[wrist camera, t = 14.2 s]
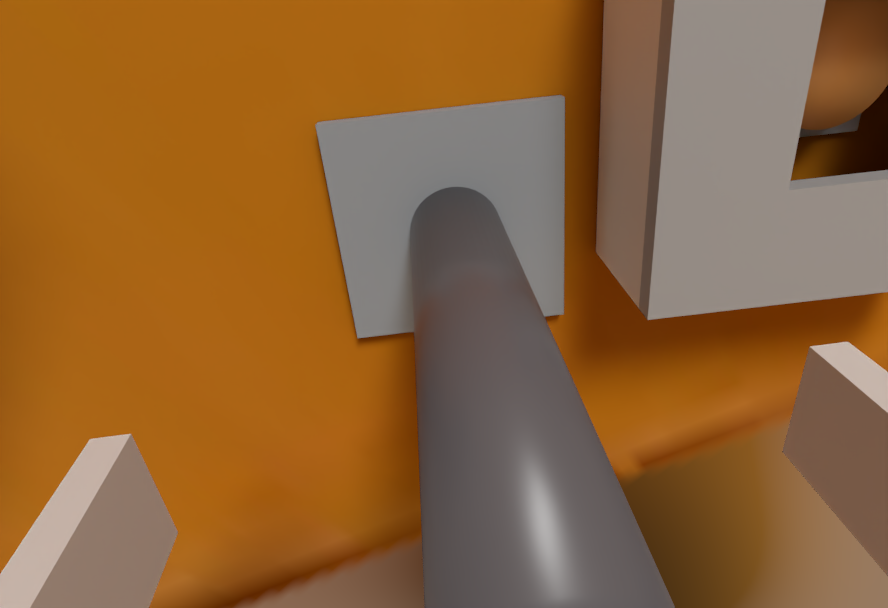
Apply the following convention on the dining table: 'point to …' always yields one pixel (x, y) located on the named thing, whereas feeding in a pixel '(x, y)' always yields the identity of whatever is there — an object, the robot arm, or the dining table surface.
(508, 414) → the stylus
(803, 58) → the box
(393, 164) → the pad
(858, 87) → the button
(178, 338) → the dining table surface
